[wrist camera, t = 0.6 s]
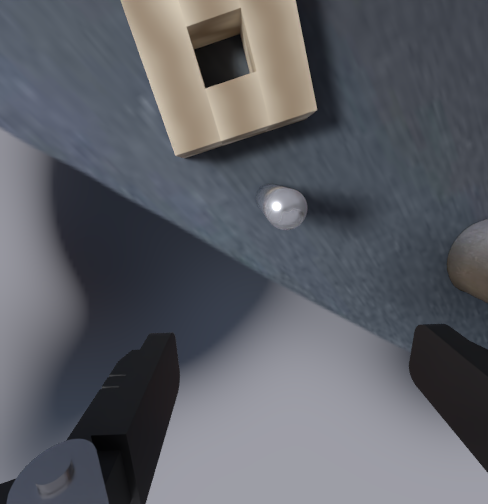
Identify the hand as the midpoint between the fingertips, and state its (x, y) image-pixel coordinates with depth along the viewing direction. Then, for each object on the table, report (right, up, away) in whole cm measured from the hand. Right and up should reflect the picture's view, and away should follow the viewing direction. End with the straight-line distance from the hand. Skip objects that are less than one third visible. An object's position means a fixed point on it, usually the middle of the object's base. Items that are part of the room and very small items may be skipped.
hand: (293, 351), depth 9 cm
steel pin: (+1, +9, +20) cm, 22 cm away
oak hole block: (-4, +21, +16) cm, 27 cm away
